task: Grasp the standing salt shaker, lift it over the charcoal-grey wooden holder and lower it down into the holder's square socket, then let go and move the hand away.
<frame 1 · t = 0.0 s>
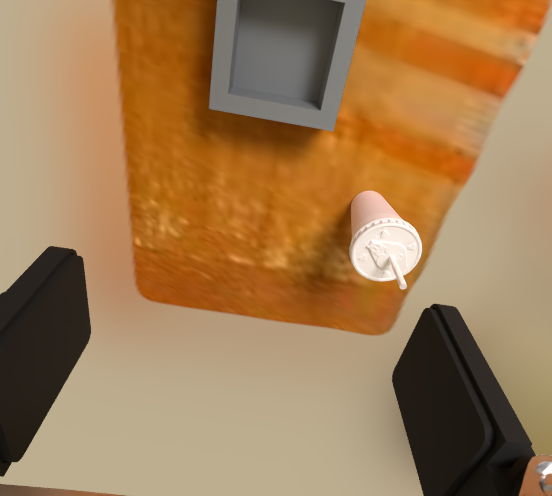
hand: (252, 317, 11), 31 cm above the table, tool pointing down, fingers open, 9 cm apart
smoothie: (367, 205, 44), on the table
socket holder: (283, 45, 35), on the table
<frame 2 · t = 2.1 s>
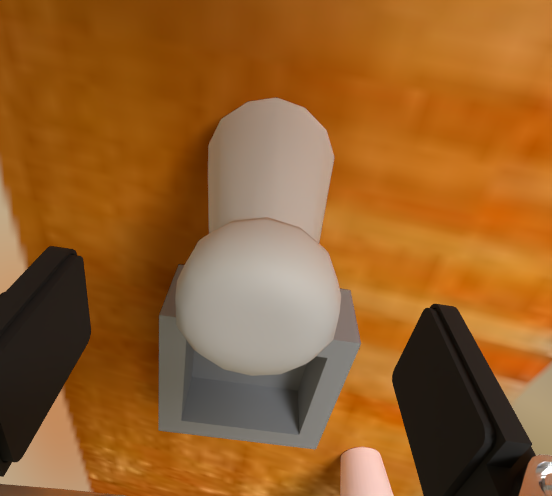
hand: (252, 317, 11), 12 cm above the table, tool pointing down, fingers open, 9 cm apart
smoothie: (360, 455, 37), on the table
socket holder: (253, 337, 28), on the table
salt shaker: (272, 144, 20), on the table
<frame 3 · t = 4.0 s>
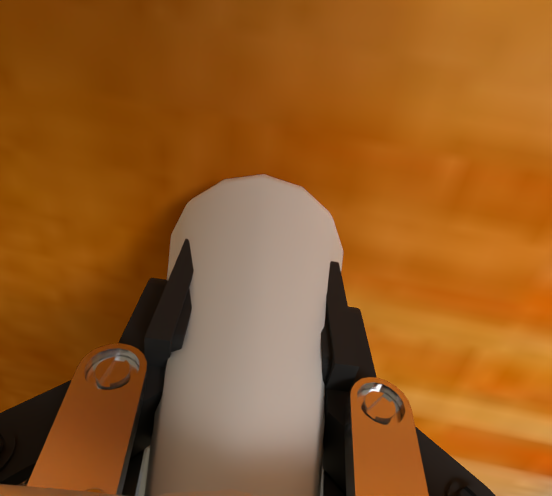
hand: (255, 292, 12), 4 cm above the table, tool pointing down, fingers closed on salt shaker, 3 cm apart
salt shaker: (260, 221, 16), on the table, touching gripper
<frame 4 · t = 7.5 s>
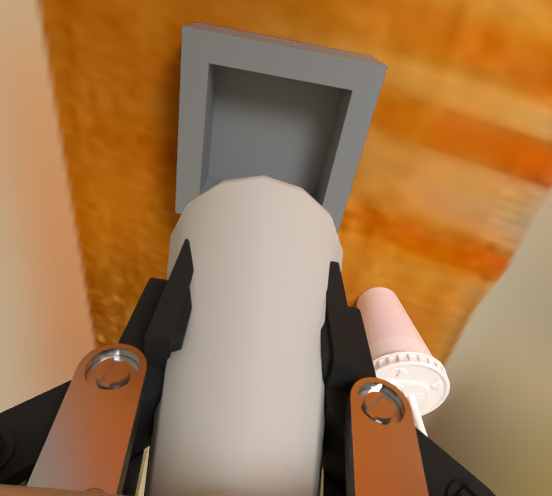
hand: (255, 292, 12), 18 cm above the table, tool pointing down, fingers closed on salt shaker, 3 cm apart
smoothie: (376, 301, 36), on the table
socket holder: (272, 127, 27), on the table
salt shaker: (260, 222, 16), point 14 cm above the table, touching gripper
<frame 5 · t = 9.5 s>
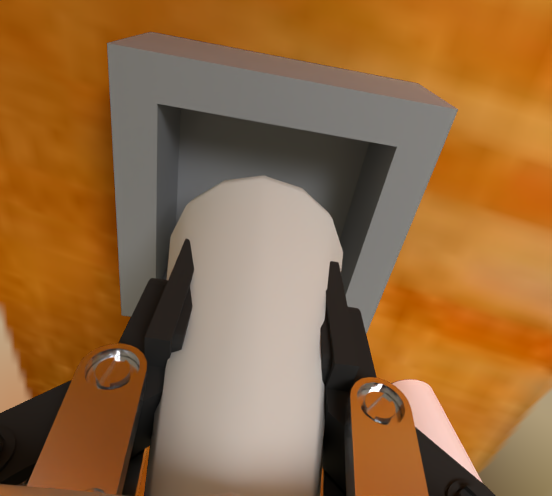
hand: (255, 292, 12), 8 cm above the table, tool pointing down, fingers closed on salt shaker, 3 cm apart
smoothie: (405, 394, 27), on the table
socket holder: (266, 182, 19), on the table
salt shaker: (260, 222, 16), point 4 cm above the table, touching gripper
when the fingers open (7 cm above the table, at t = 11.0 s): salt shaker drops 1 cm, resting on socket holder.
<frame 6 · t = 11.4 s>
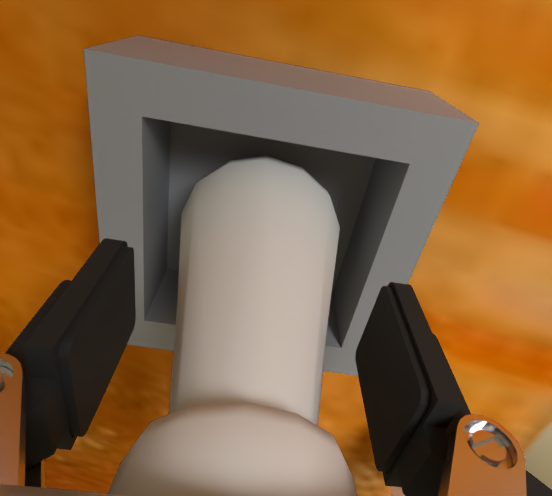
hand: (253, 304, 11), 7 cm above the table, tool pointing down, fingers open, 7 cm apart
socket holder: (264, 197, 17), on the table
salt shaker: (263, 202, 17), point 1 cm above the table, touching socket holder
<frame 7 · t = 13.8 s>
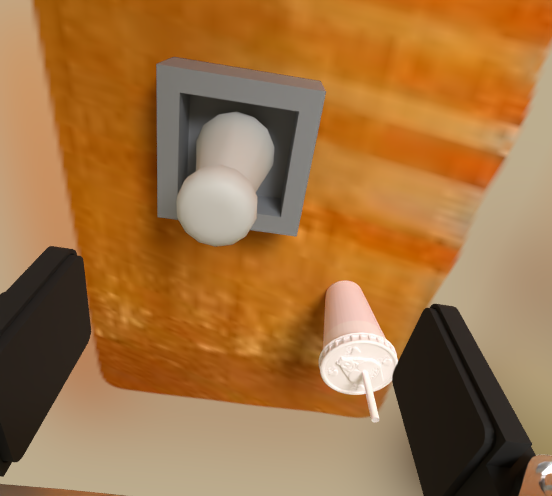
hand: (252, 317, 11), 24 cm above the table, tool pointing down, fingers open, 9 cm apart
smoothie: (343, 294, 40), on the table
socket holder: (240, 141, 32), on the table
salt shaker: (238, 142, 31), point 1 cm above the table, touching socket holder
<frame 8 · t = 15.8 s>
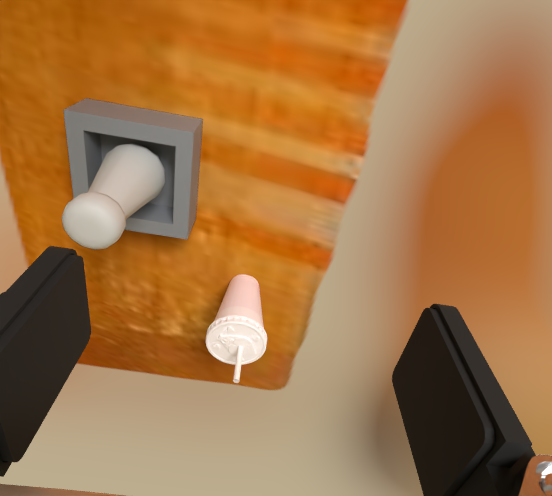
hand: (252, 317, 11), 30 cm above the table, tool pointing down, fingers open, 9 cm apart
smoothie: (244, 285, 49), on the table
socket holder: (145, 163, 40), on the table
salt shaker: (142, 164, 40), point 1 cm above the table, touching socket holder
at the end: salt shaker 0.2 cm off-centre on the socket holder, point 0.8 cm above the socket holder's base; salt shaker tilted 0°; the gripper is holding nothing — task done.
